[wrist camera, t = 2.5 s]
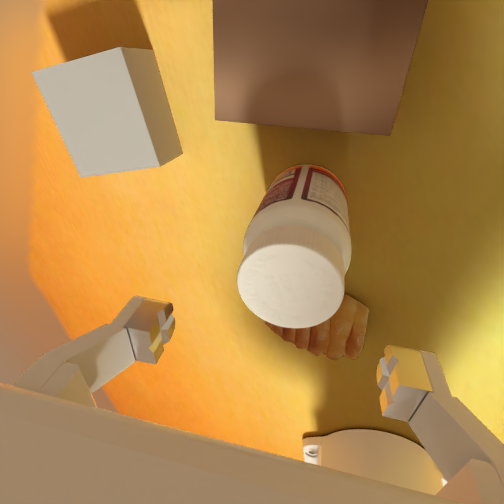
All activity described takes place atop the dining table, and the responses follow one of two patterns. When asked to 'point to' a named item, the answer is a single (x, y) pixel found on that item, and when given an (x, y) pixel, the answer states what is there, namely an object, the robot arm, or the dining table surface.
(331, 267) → the pill bottle
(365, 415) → the dining table surface
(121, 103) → the grey block
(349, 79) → the walnut block
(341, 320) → the pastry
